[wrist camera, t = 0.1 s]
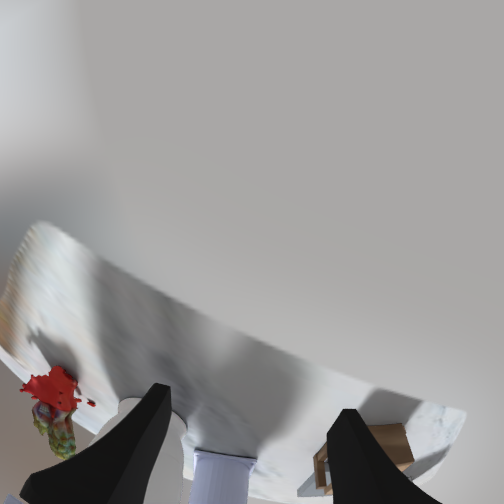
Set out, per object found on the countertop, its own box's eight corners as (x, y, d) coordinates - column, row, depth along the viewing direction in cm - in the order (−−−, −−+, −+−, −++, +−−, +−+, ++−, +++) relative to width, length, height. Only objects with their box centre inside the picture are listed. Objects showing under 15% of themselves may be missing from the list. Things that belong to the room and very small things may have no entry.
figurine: (94, 374, 31) (81, 449, 25) (28, 347, 25) (14, 427, 19) (109, 385, 25) (95, 473, 20) (26, 353, 20) (13, 451, 14)
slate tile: (330, 486, 33) (331, 495, 31) (297, 487, 33) (297, 497, 31) (361, 457, 29) (363, 468, 27) (322, 460, 29) (323, 471, 27)
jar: (104, 377, 24) (43, 487, 10) (197, 404, 24) (164, 539, 10) (120, 427, 28) (83, 516, 14) (195, 449, 28) (174, 548, 14)
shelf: (379, 453, 28) (388, 486, 22) (313, 457, 28) (316, 495, 22) (407, 422, 25) (421, 459, 19) (335, 427, 25) (342, 471, 19)
